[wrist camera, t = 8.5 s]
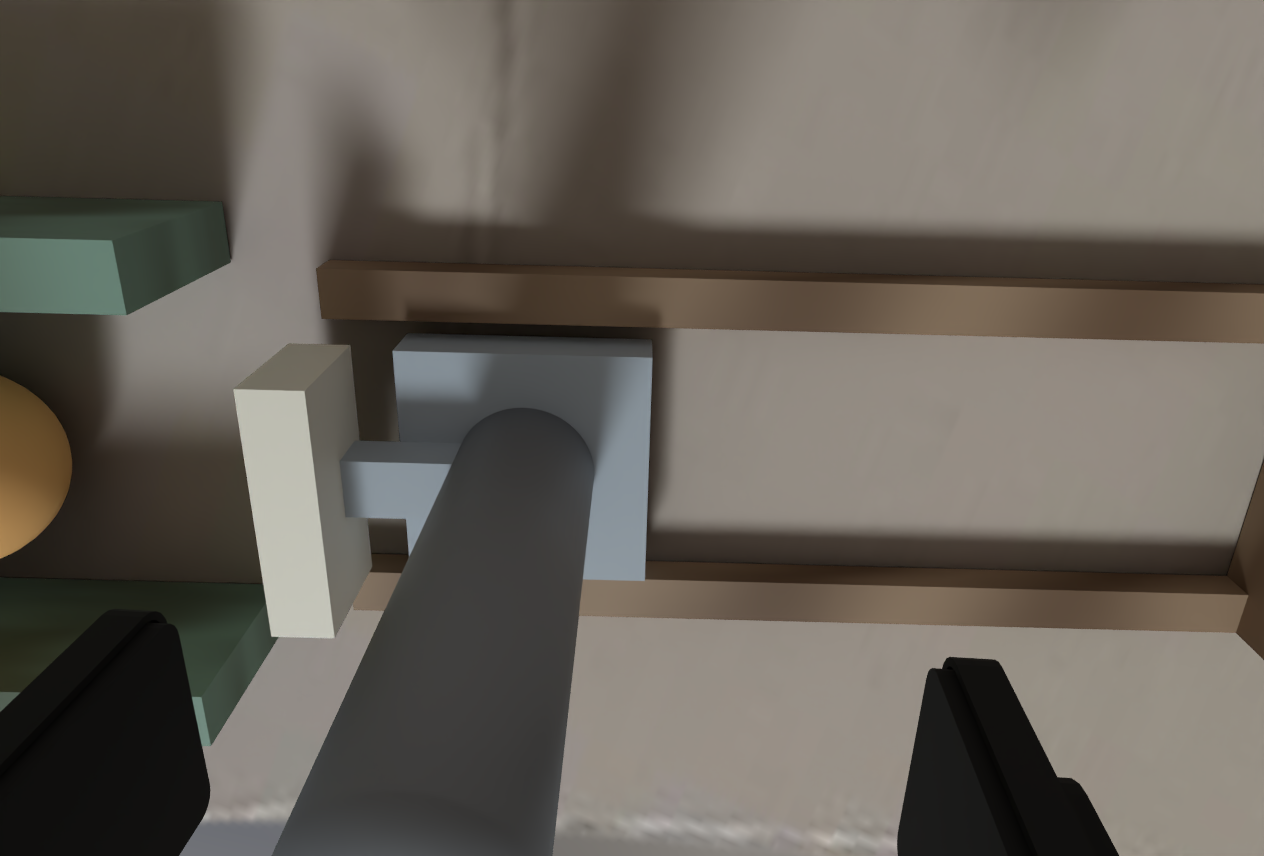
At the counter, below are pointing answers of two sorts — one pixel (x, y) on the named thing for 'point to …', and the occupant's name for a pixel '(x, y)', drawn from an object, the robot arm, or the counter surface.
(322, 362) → the kicker
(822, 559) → the counter surface
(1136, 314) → the track
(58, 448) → the ball
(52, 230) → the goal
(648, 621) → the counter surface
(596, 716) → the counter surface
